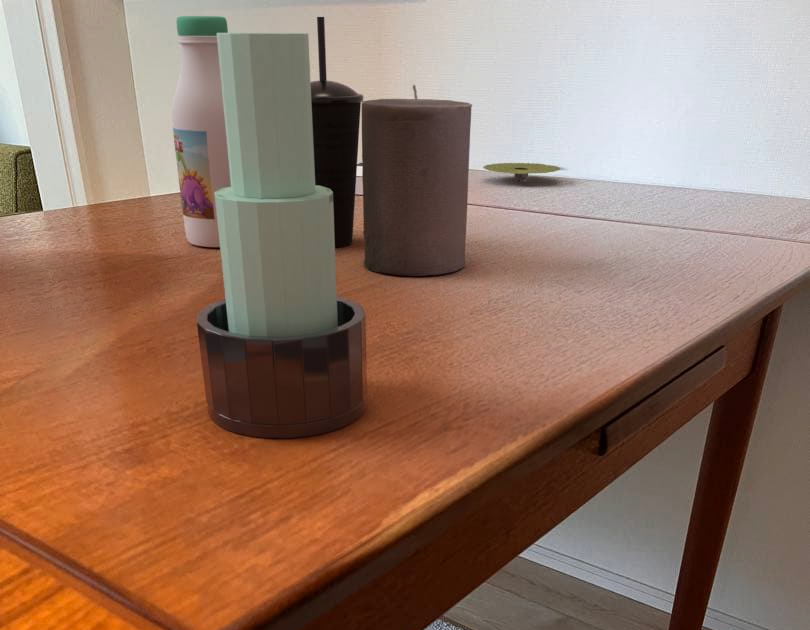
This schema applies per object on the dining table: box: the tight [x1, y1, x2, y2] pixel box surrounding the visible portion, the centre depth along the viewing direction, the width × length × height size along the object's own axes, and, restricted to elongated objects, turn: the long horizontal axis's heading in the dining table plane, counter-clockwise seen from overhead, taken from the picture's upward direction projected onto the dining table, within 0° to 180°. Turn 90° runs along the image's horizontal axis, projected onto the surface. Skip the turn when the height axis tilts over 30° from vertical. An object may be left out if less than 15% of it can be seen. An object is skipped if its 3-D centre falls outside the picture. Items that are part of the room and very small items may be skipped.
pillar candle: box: [361, 84, 473, 277], centre depth 76 cm, size 10×10×15 cm
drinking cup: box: [310, 16, 365, 248], centre depth 82 cm, size 8×8×20 cm
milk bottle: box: [171, 15, 231, 248], centre depth 83 cm, size 8×8×20 cm
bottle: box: [214, 32, 338, 337], centre depth 44 cm, size 6×6×18 cm
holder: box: [196, 295, 368, 439], centre depth 48 cm, size 9×9×6 cm
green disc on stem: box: [482, 162, 561, 183], centre depth 124 cm, size 11×11×2 cm
